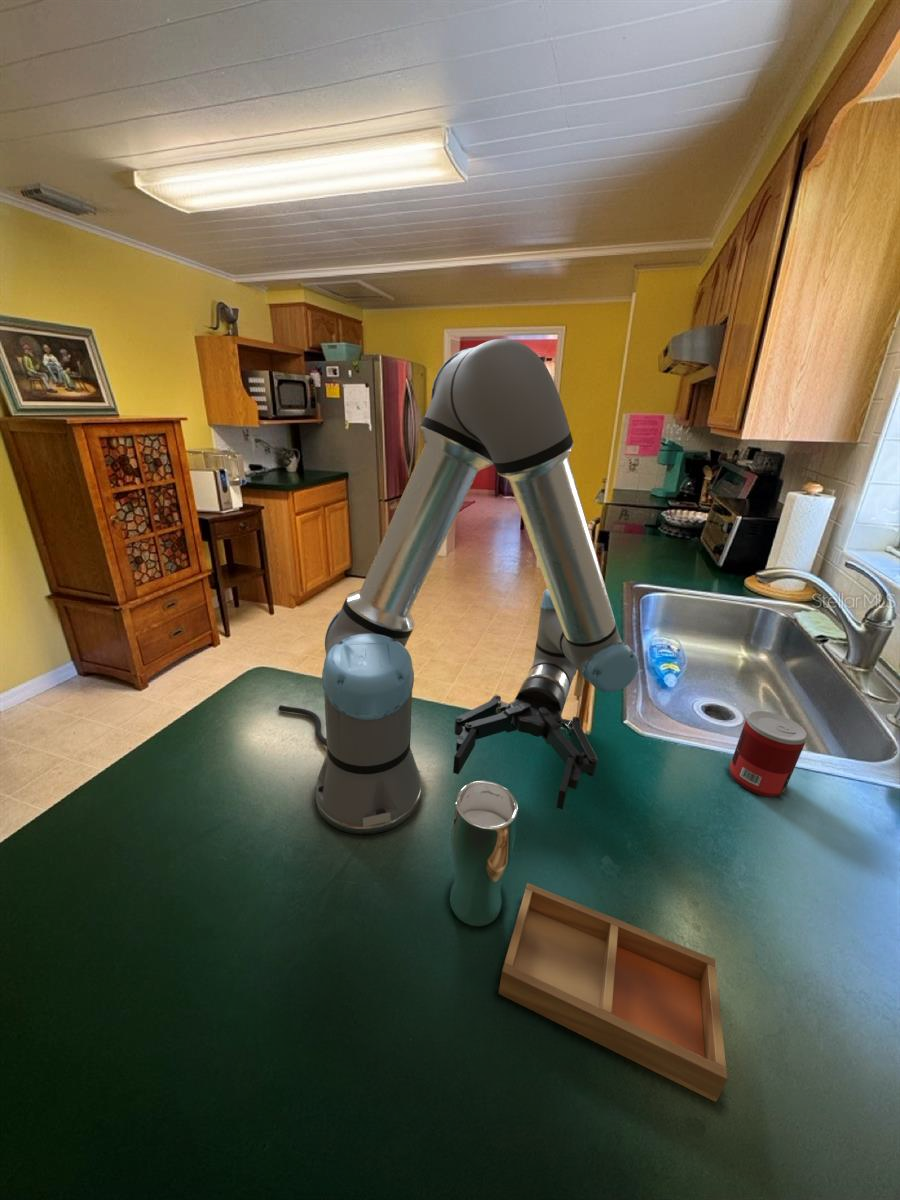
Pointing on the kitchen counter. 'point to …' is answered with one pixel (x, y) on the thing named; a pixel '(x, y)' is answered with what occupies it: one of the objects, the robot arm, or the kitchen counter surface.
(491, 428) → the robot arm
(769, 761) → the canned food
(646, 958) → the tray
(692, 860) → the kitchen counter surface
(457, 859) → the metal tumbler cup
